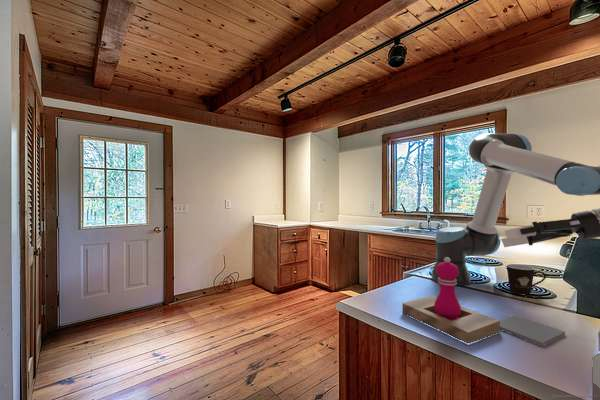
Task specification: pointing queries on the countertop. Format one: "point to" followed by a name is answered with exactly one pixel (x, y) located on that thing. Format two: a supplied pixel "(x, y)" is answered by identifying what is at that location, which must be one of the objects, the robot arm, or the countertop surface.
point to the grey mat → (530, 330)
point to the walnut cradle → (464, 328)
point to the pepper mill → (447, 291)
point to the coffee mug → (521, 278)
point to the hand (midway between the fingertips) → (504, 239)
